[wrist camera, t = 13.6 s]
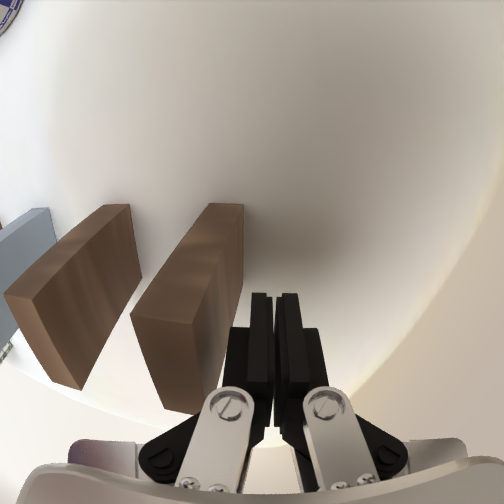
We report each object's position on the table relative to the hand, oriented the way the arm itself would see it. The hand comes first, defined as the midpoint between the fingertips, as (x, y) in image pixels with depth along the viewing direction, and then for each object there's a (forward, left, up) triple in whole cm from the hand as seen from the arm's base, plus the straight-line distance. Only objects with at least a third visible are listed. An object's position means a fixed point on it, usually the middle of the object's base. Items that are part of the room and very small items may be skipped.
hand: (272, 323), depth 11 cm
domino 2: (+9, 0, -6) cm, 11 cm away
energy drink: (+19, -19, -6) cm, 28 cm away
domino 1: (+15, 0, -6) cm, 17 cm away
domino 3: (+2, 0, -6) cm, 7 cm away
